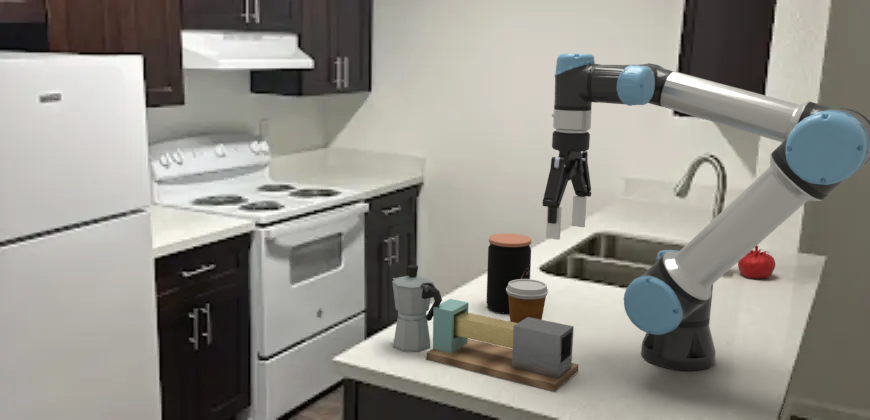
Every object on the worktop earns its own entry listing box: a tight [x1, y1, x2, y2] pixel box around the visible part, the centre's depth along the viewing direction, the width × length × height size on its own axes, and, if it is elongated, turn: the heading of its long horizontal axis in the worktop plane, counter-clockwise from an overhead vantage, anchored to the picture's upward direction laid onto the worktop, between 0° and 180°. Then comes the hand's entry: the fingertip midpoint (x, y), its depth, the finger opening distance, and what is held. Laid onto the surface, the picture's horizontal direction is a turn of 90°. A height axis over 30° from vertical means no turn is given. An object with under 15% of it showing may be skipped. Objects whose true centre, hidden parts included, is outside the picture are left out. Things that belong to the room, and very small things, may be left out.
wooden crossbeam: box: [453, 311, 517, 349], centre depth 167 cm, size 20×4×4 cm, turn 59°
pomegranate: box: [737, 245, 776, 280], centre depth 235 cm, size 10×10×9 cm
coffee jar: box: [486, 233, 532, 315], centre depth 202 cm, size 11×11×18 cm
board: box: [425, 338, 579, 393], centre depth 167 cm, size 29×12×2 cm, turn 59°
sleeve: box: [512, 317, 574, 379], centre depth 162 cm, size 10×7×9 cm, turn 59°
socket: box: [432, 298, 470, 353], centre depth 172 cm, size 4×7×9 cm, turn 149°
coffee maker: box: [392, 264, 443, 353], centre depth 175 cm, size 15×9×18 cm, turn 45°
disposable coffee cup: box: [506, 278, 549, 323], centre depth 184 cm, size 10×10×12 cm
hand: (566, 232), depth 169 cm, fingers open, 13 cm apart
